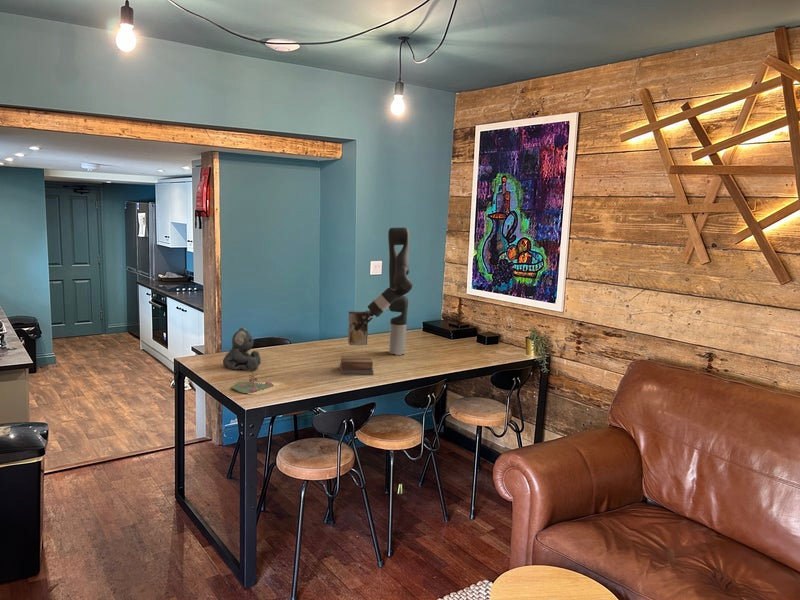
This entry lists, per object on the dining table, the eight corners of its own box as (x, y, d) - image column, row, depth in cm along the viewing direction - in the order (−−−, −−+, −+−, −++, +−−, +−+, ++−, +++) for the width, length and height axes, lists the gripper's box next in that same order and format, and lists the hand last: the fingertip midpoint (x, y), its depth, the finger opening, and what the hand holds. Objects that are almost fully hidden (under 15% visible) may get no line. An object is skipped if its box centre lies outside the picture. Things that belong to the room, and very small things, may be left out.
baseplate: (339, 366, 307) (339, 363, 307) (370, 367, 309) (370, 363, 309) (340, 374, 293) (341, 370, 293) (373, 374, 296) (373, 370, 295)
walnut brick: (340, 363, 306) (341, 356, 305) (370, 363, 308) (370, 356, 308) (341, 369, 294) (342, 361, 294) (372, 370, 296) (372, 362, 296)
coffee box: (365, 342, 303) (366, 311, 301) (367, 345, 297) (368, 313, 295) (347, 342, 302) (348, 311, 299) (349, 345, 295) (350, 313, 293)
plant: (274, 378, 283) (274, 360, 281) (296, 389, 267) (296, 370, 266) (223, 386, 267) (223, 366, 265) (243, 398, 251) (244, 377, 250)
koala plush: (258, 371, 291) (258, 332, 288) (219, 371, 288) (220, 331, 285) (261, 362, 308) (261, 325, 305) (225, 362, 305) (225, 324, 302)
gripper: (372, 298, 304) (348, 320, 304) (375, 302, 290) (350, 325, 290) (382, 308, 306) (358, 330, 306) (385, 313, 292) (360, 336, 292)
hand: (354, 328), depth 298 cm, fingers closed on coffee box, 6 cm apart
